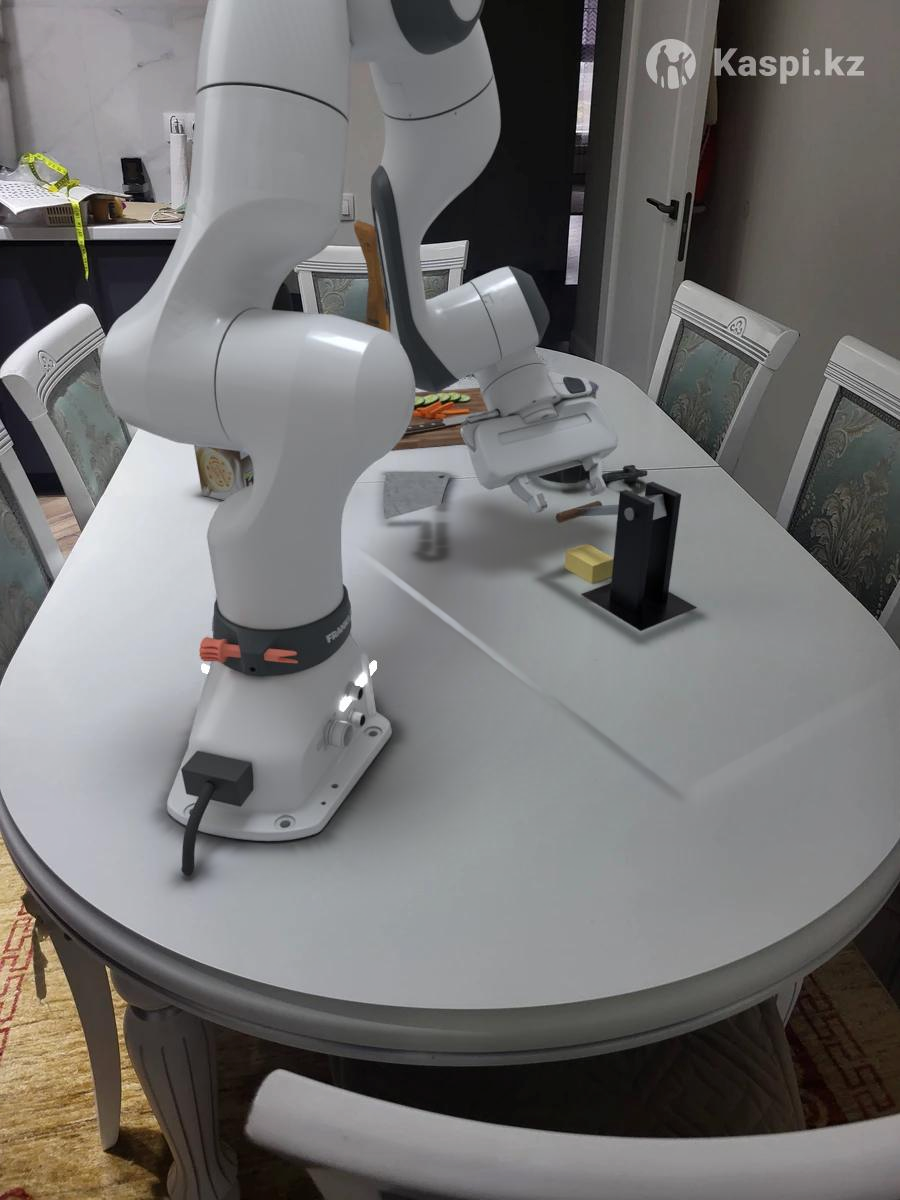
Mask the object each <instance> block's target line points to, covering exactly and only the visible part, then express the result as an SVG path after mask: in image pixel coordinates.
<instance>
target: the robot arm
mask: <svg viewBox="0 0 900 1200" xmlns="http://www.w3.org/2000/svg"><path fill="white" fill-rule="evenodd" d="M485 1H486V0H208V1H207V6H206V11H205V16H204V21H203V27H202V32H201V33H202V34H201V40H200V46H199V54H198V64H197V74H196V77H197V78H196V88H195V89H196V90H195V108H194V109H195V110H194V123H193V124H194V125H193V140H192V141H193V142H192V153H191V163H190V164H191V165H190V173H189V174H190V175H189V184H188V193H187V201H186V206H185V210H184V216H183V220H182V223H181V226H180V230H179V232H178V235H177V238H176V240H175V243H174V245H173V247H172V249H171V252H170V254H169V257H168V259H167V261H166V263H165V265H164V267H162V270H161V272H160V273H159V276H158V277H157V278H156V280H155V282H154V283H153V285H152V286H151V287H150V289H149V290H148V291H147V293H146V294H145V295H143V297H142V298H141V299H140V300H139V301H138V302H137V303H136V304H135V305H133V306H132V307H130V309H129V310H127V311H126V312H124V313H123V314H121V315H120V316H119V317H118V318H117V319H116V320H115V321H114V323H113V324H112V326H111V327H110V329H109V331H108V333H107V335H106V336H105V339H104V342H103V345H102V349H101V353H100V364H99V365H100V366H99V367H100V368H99V371H100V378H101V384H102V388H103V391H104V394H105V396H106V399H107V401H108V403H109V405H110V407H111V409H112V410H113V411H114V413H115V414H116V415H117V416H118V417H119V418H120V419H121V420H122V421H123V422H124V423H126V424H128V425H130V426H132V427H135V428H137V429H139V430H142V431H144V432H146V433H149V434H152V435H154V436H157V437H160V438H163V439H166V440H168V441H171V442H174V443H176V444H177V443H178V444H184V445H192V446H194V445H198V446H205V447H213V448H220V449H227V450H235V451H242V452H244V453H248V454H249V455H250V457H251V460H252V463H253V468H254V482H253V485H250V486H248V487H246V488H244V489H242V490H240V491H238V492H236V493H234V494H233V495H231V496H230V497H228V498H227V499H226V500H222V502H221V503H220V504H219V505H218V507H217V508H216V509H215V511H214V512H213V515H212V516H211V519H210V521H209V525H208V527H207V531H206V540H207V545H208V546H207V547H208V552H209V558H210V564H211V570H212V571H211V572H212V578H213V585H214V589H215V590H214V591H215V596H216V598H215V601H214V604H213V615H212V619H211V620H212V622H211V632H212V637H209V636H205V637H204V638H202V640H201V642H200V645H199V651H198V652H199V657H200V660H201V661H202V662H210V663H209V665H207V664H205V663H202V664H201V671H202V673H205V674H206V676H205V681H204V684H203V687H202V691H201V693H200V698H199V702H198V705H197V708H196V713H195V716H194V720H193V723H192V726H191V730H190V735H189V738H188V745H187V748H186V751H185V754H184V756H183V759H182V761H181V764H180V766H179V768H178V772H177V774H176V776H175V779H174V781H173V785H172V786H171V789H170V791H169V794H168V798H167V801H166V808H167V809H166V810H167V813H168V815H170V816H171V817H172V818H173V819H174V820H175V821H177V822H179V823H180V824H182V825H183V826H185V830H184V834H183V840H182V849H181V850H182V851H181V852H182V853H181V872H182V874H183V875H185V876H187V877H190V876H192V874H193V873H194V870H195V853H196V841H197V835H198V832H201V833H205V834H210V835H212V836H213V835H214V836H218V837H223V838H224V837H225V838H228V839H229V838H230V839H236V840H244V841H258V842H259V841H260V842H280V841H291V840H296V839H301V838H307V837H309V836H312V835H313V836H314V835H316V834H319V832H321V831H322V830H323V829H324V828H325V826H326V825H327V824H328V822H330V820H331V819H332V817H333V816H334V815H335V813H336V812H337V810H338V809H339V808H340V806H341V805H342V803H343V802H344V801H345V799H346V798H347V797H348V795H349V794H350V793H351V791H352V790H353V789H354V787H355V786H356V785H357V783H358V782H359V780H360V779H361V777H362V776H363V775H364V774H365V772H366V771H367V770H368V768H369V766H370V765H372V762H373V761H374V760H375V758H376V757H377V756H378V754H379V753H380V752H381V750H382V749H383V748H384V746H385V744H386V743H387V742H388V741H389V739H390V738H391V736H392V734H393V730H392V725H391V722H390V720H389V719H387V717H386V716H384V715H382V714H381V713H379V712H378V711H377V709H376V702H375V693H374V687H373V679H372V675H373V674H374V672H375V671H376V670H377V661H376V660H373V661H372V662H371V663H370V659H369V656H368V655H367V654H366V652H365V651H364V650H363V649H362V648H361V646H360V645H359V644H358V643H357V641H356V640H355V637H353V635H352V633H351V631H352V604H351V600H350V597H349V595H350V594H349V591H348V588H347V586H346V585H345V584H344V581H343V580H344V578H343V577H344V576H343V561H342V560H343V558H342V524H343V515H344V510H345V506H346V503H347V500H348V497H349V495H350V493H351V491H352V489H353V488H354V485H355V484H356V482H357V481H358V479H359V478H360V477H361V476H362V474H363V473H365V472H366V471H367V469H368V468H370V467H371V466H372V465H374V464H375V463H376V462H378V461H379V460H381V459H382V458H384V457H385V456H387V455H388V454H389V453H390V452H391V451H393V450H392V449H393V448H394V447H395V446H396V444H397V443H398V442H399V441H400V439H401V438H402V436H403V435H404V433H405V432H406V430H407V427H408V425H409V423H410V421H411V418H412V415H413V410H414V405H415V394H416V392H417V390H416V389H418V390H420V391H421V390H422V391H423V392H427V391H428V392H433V393H438V392H440V391H442V390H446V389H447V388H448V387H450V386H452V385H454V384H456V383H458V382H459V381H460V380H461V379H463V378H465V377H468V376H470V375H473V376H474V378H475V379H476V380H477V383H478V385H479V388H480V392H481V396H482V399H483V401H484V403H485V405H486V407H487V409H488V412H484V413H482V414H478V415H470V416H468V417H466V420H465V421H464V422H463V423H462V425H461V429H460V432H461V435H462V437H463V440H464V442H465V444H464V445H465V446H466V447H467V450H468V454H469V458H470V461H471V464H472V467H473V471H474V473H475V475H476V478H477V480H478V483H479V484H480V485H481V486H482V487H483V488H485V489H486V490H489V491H491V490H494V489H498V488H501V487H505V486H509V489H510V490H511V492H512V493H513V494H514V495H515V496H516V497H518V498H519V499H520V500H521V501H523V502H524V503H526V505H527V507H528V510H529V511H530V514H532V515H535V514H538V513H541V512H544V511H545V510H547V508H548V502H547V501H546V498H545V495H544V494H543V493H538V494H537V493H536V492H535V491H534V489H532V488H531V487H530V486H529V485H528V484H529V483H530V479H531V480H532V479H534V478H537V477H538V476H542V475H545V474H549V473H553V472H556V471H560V470H564V469H567V468H571V467H574V466H578V465H582V464H583V466H584V468H585V471H589V470H590V480H589V482H587V483H586V484H585V487H586V490H587V491H588V493H589V495H590V496H591V497H595V496H598V495H601V494H603V493H604V492H606V490H607V485H606V483H605V481H603V478H602V475H603V470H604V469H603V468H604V467H603V466H604V461H603V459H605V458H608V456H609V455H610V454H612V453H613V452H614V451H615V450H616V449H617V448H618V442H619V437H618V434H617V432H616V429H615V427H614V425H613V423H612V422H611V419H610V417H609V415H608V413H607V412H606V410H605V408H604V407H603V406H602V404H601V403H600V401H598V400H597V398H596V399H594V398H593V397H589V396H588V395H589V394H590V393H591V392H592V387H591V385H590V383H589V381H590V380H589V381H588V379H587V378H585V377H580V376H572V375H567V374H566V375H565V374H561V373H559V372H558V373H557V372H555V371H554V372H553V371H549V369H548V367H547V366H546V364H545V363H544V362H543V360H542V359H541V358H540V356H538V354H537V352H536V349H535V348H536V347H537V346H540V343H541V342H542V340H543V338H544V335H545V333H546V330H547V329H548V326H549V323H550V312H549V310H548V307H547V305H546V303H545V301H544V298H543V296H542V293H540V291H539V288H538V287H537V285H536V281H535V280H534V278H533V276H532V275H531V274H529V273H527V272H526V271H523V270H522V269H519V268H517V267H515V266H511V265H507V266H503V267H500V268H496V269H493V270H491V271H489V272H486V273H485V274H482V275H479V276H477V277H475V278H473V279H471V280H469V281H468V282H466V283H464V284H461V285H459V286H456V287H454V288H452V289H450V290H448V291H445V292H443V293H440V294H438V295H436V296H434V297H432V298H428V299H426V292H425V284H424V276H423V268H422V262H421V244H422V241H423V238H424V236H425V235H426V233H427V231H428V229H429V228H430V226H431V225H432V223H433V222H434V221H435V220H436V219H437V218H438V216H439V215H440V214H441V213H442V212H443V211H444V210H445V209H446V208H447V206H448V205H450V203H452V202H453V201H454V200H455V199H456V198H457V197H458V196H459V195H460V194H462V193H463V192H464V191H465V190H466V189H467V188H469V187H470V186H471V185H472V184H473V183H474V182H475V181H476V180H477V179H478V177H479V176H480V175H481V174H482V172H483V171H484V170H485V168H486V167H487V165H488V163H489V162H490V160H491V159H492V156H493V154H494V152H495V150H496V148H497V145H498V141H499V138H500V134H501V127H502V124H501V123H502V122H501V121H502V119H501V107H500V100H499V93H498V86H497V82H496V78H495V74H494V70H493V64H492V60H491V56H490V51H489V47H488V44H487V40H486V37H485V33H484V30H483V27H482V23H481V20H480V17H481V14H482V13H483V10H484V6H485ZM351 63H354V64H368V65H369V70H370V75H371V78H372V81H373V86H374V89H375V93H376V96H377V101H378V103H379V106H380V110H381V114H382V117H383V122H384V132H385V133H384V146H383V152H382V157H381V161H380V164H379V165H378V166H377V168H376V169H375V171H374V172H373V173H372V174H371V178H370V179H371V180H370V202H371V211H372V219H373V226H374V227H375V234H376V241H377V247H378V253H379V259H380V265H381V271H382V277H383V283H384V289H385V295H386V301H387V307H388V317H389V327H390V332H388V331H385V330H382V329H379V328H376V327H373V326H370V325H367V324H366V323H364V322H361V321H358V320H354V319H351V318H348V317H343V316H340V315H337V314H330V313H329V314H328V313H319V312H318V313H317V312H306V311H294V312H293V311H281V310H272V306H273V302H274V299H275V296H276V294H277V291H278V289H279V287H280V286H281V284H282V283H284V282H285V280H286V279H287V277H288V276H289V275H290V273H291V272H292V271H293V270H294V269H295V268H297V267H298V266H299V265H301V264H302V263H304V262H306V261H308V260H309V259H311V258H313V257H316V256H317V255H319V254H320V253H322V252H323V251H324V250H325V249H327V247H328V246H329V245H330V244H331V242H332V241H333V240H334V238H335V236H336V235H337V232H338V230H339V227H340V224H341V221H342V211H343V199H344V187H345V174H346V164H347V163H346V162H347V151H348V150H347V148H348V140H349V139H348V137H349V128H350V127H349V125H350V108H351V83H352V82H351V80H352V79H351V78H352V77H351V75H352V74H351V71H352V69H351ZM465 424H467V425H465ZM538 478H539V477H538Z"/></svg>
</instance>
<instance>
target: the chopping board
mask: <svg viewBox="0 0 900 1200" xmlns="http://www.w3.org/2000/svg"><path fill="white" fill-rule="evenodd" d="M484 412H488V409H487V407H486V405H485V403H484V401H483V399H482V396H481V392H480V387H473V388H472V387H470V388H456V389H443V390H442V391H440V392H438V393H433V392H428V391H416V394H415V405H414V410H413V415H412V418H411V421H410V423H409V425H408V427H407V430H406V432H405V433H404V435H403V436H402V438H401V439H400V441H399V442H398V443H397V444H396V446H395V447H394V448H393V449H392V450H391V451H398V450H411V449H420V448H432V447H433V448H434V447H444V446H445V447H447V446H455V445H457V446H458V445H466V444H465V442H464V440H463V437H462V435H461V432H460V429H461V425H462V423H463V422H464V421H465V420H466V417H468V416H470V415H478V414H482V413H484ZM465 425H467V424H465Z"/></svg>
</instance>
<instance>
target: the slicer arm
mask: <svg viewBox="0 0 900 1200" xmlns="http://www.w3.org/2000/svg"><path fill="white" fill-rule="evenodd" d="M641 497H643V498H645V499H648V500H650V501H652V502H654V503H655V506H654V514H653V520H655V519H658V518H661V517H664V516H666V515H667V514H666V509H665V503H664V498H663V494H660V495H647V496H645V495H643V496H641ZM618 506H619V503H618V504H605V505H603V503H602V501H600V500H595V501H593V502H590V503H586V504H583V505H580V506H576V507H574V508H571V509H568V510H564V511H560V512H558V513H556V514H555V521H556V522H557V523H558V524H562V523H565V522H568V521H571V520H574V519H578V518H580V517H582V518H583V517H598V516H599V517H601V516H618Z"/></svg>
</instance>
